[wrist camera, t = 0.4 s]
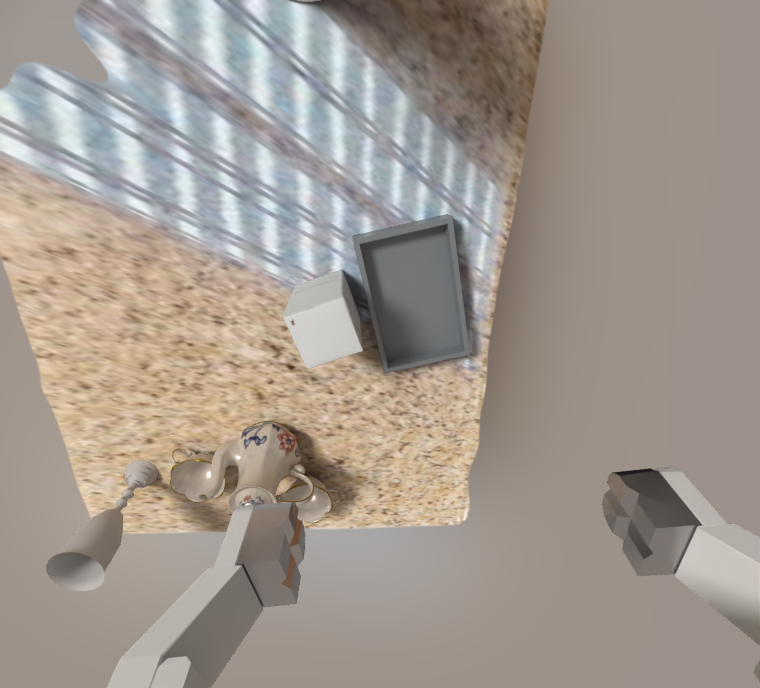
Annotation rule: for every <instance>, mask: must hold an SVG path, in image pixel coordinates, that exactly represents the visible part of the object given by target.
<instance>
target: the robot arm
mask: <svg viewBox="0 0 760 688" xmlns="http://www.w3.org/2000/svg"><path fill="white" fill-rule="evenodd" d="M297 1H304V2H313V1H320V0H297ZM607 483H608V485H609V486H610V488H611V489H610V490H609V491H608V492H606V493H605V494H604V498H603V504H602V505H603V512H604V516H605V518H606V521H607V523H608V525H609V527H610V529H611V531H612V532H613V533H614V534H615V535H617V536H618V537H620V538H621V539H622V540H624V542H623V551H624V553H625V555H626V557H627V558H628V560H629V562H630V563H631V565H632V567H633V568H634V570H635V572H636V573H637V575H638V576H649V575H668V574H675V577H676V578H678V579H679V580H680V581H681V582H683V583H684V584H685V585H686V586H687V587H689V588H690V589H691V590H692V591H694V592H695V593H696V594H697V595H698V596H700V597H701V598H702V599H703V600H705V601H706V602H707V603H708V604H709V605H711V606H712V607H713V608H715V609H716V610H717V611H718V612H719V613H721V614H722V615H723V616H724V617H725V618H727V619H728V620H729V621H730V622H731V623H733V624H734V625H735V626H736V627H738V628H739V629H740V630H741V631H743V632H744V633H745V634H746V635H747V636H749V637H750V638H751V639H752V640H753V641H755V642H756V643H757V644H759V645H760V537H758V536H756V535H755V534H753V533H751V532H749V531H747V530H746V529H744V528H742V527H740V526H738V525H736V524H735V523H729V524H728V523H727V522H726V521H725V520H724V519H723V518H722V517H721V516H720V514H719V513H718V512H717V511H716V510H715V509H714V508H713V506H712V505H711V504H710V503H709V502H708V501H707V500H706V499H705V497H704V496H703V495H702V494H701V493H700V492H699V491H698V489H697V488H696V487H695V486H694V485H693V484H692V483H691V482H690V480H689V479H688V478H687V477H686V476H685V475H684V474H683V472H682V471H681V470H679V469H678V468H676V467H665V468H655V469H640V470H631V471H621V472H613V473H611V474H610V475H609V477H608V481H607ZM297 516H298V508H297V505H296V503H295V502H291V503H275V504H259V505H246V506H237V508H236V509H235V511H234V512H233V514H232V517H231V520H230V523H229V525H228V528H227V531H226V534H225V537H224V540H223V543H222V545H221V548H220V551H219V554H218V557H217V560H216V563H215V566H214V567H212V568H208V569H207V570H206V571H205V572H204V573H203V574H202V575H201V576H200V577H199V578H198V579H197V580H196V581H195V582H194V583H193V584H192V585H191V586H190V587H189V588H188V589H187V590H186V591H185V593H183V595H182V596H181V597H180V598H179V599H178V600H177V601H176V602H175V603H174V604H173V605H172V606H171V607H170V608H169V609H168V610H167V611H166V612H165V613H164V614H163V615H162V616H161V617H160V618H159V619H158V620H157V621H156V622H155V623H154V625H153V626H152V627H151V628H150V629H149V630H148V631H147V632H146V633H145V634H144V635H143V636H142V637H141V638H140V639H139V640H138V641H137V642H136V643H135V644H134V645H133V646H132V647H131V648H130V650H128V651H127V653H126V654H125V655H124V656H123V657H122V658H121V659H120V661H119V663H118V665H117V667H116V669H115V671H114V673H113V675H112V678H111V680H110V682H109V684H108V686H107V688H211V687H212V685H213V684H214V682H215V681H216V679H217V678H218V676H219V675H220V673H221V672H222V670H223V669H224V667H225V666H226V664H227V663H228V661H229V660H230V658H231V657H232V655H233V654H234V652H235V651H236V650H237V648H238V647H239V645H240V643H241V642H242V641H243V639H244V638H245V636H246V635H247V633H248V632H249V630H250V628H251V627H252V625H253V624H254V623H255V621H256V620H257V618H258V617H259V615H260V614H261V612H262V611H263V608H262V607H270V606H279V605H289V604H296V603H297V597H298V591H299V585H300V578H301V575H300V573H299V570H298V567H297V566H298V565H299V564H300V563H301V561H302V560H303V559H304V551H305V531H304V526H303V523H302V521H301V520H299V519H298V518H297ZM754 674H755V675H756V677H757V678H758V680H759V681H760V661H759V662H758V664H757V665H756V666H755V670H754Z"/></svg>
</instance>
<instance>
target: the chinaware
mask: <svg viewBox="0 0 760 688" xmlns="http://www.w3.org/2000/svg"><path fill="white" fill-rule="evenodd" d="M175 451H181V452H183V453H185V454H186V455H187V456H189V457H188V458H187V459H186V460H185V461H183V462H180V463H179V460H178V461H177V462H175V460H174V458H173V453H174V452H175ZM170 459H171V461H172V462H173V463H174V464H175V465H174V466H173V467H172V470H171V480H170V486H171V489H172V490H173V491H174V492H176V493H179V494H184V493H185V494H184V496H186V498H187V499H188V500H190V501H193V502H195V503H197V502H203V501H205V500H207V499H210V498H218V497H220V496H222V495H223V492H224V490H225V485H226V484H225V483H226V474H225V470H226V467H227V466H230V465H231V466H236V467H237V469H238V471H239V480H238V484H237V488H236V490H235V491H234V492H233V493H232V494H231V495H230V497H229V499H228V508H229V509H230V510H231V512H232V514H233V512H234V511H235V509H236V508H237V506H246V505H259V504H275V503H276V502H277V503H291V502H295V503H296V505H297V508H298V516H297V518H298V519H299V520H301V521H303V519H304V521H306V522H308V523H317V522H318V521H320V520H321V519H322V518H323V517H324V515H325V513H328V512H330V511H331V509H332V508H333V504H336V503H338V502H339V500H340V493H339V492H338V491H337V490H335V489H329V490H326V488H325V486H326V485H323V484H322V482H320V481H319V480H318V479H316V478H314V477H313V476H311V474H310V475H309V476H305V475H303V474H304V473H305V469H304V467H303V466H302V465H300V464H298V463H299V462H300V460H301V455H300V452H299V449H298V445H297V439H296V437H295V436H294V435H293V433H292V432H291V431H290V429H289V428H287V427H286V426H284V425H283V424H280V423H278V422H273V421H263V422H259V423H256V424H254V425H252V426H251V427H247V428H245V429H244V431H243V433H242V435H241V437H240V438H237V439H234V440H231V441H228V442H225V443H223V444H222V445H221V446H220V447H219V448H218V449H217V450H216V452H215V453H209V452H205V451H203V453H198V454H196V453H195V452H192V453H191V455H189V454H188V453H187V452H186V451H184V450H183V449H175V450H174V451H173V452H172V453H171V455H170ZM288 474H290V475H291V476H294V477H298V478H300V479H298V480H296V481H295V482H294V483H293V484H292V485H291V486H290V487H289V489H288V490H287V491H286V492H283V493H282V494H281V495H277V496H276V497H275V494H276V490H277V487H278V485H279V483H280V481H281V480H283V479H284V478H286V477H287V476H288ZM328 491H334V492H336V493H337V494H338V495H339V498H338V500H337V501H335V502H332V501H333V500H332V499H331V498H330V496H329V494H328V493H327V492H328ZM279 498H280V499H279Z"/></svg>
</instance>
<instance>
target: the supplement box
mask: <svg viewBox="0 0 760 688" xmlns="http://www.w3.org/2000/svg"><path fill="white" fill-rule="evenodd" d="M283 319H284V321H285V323H286V325H287V327H288V329H289V331H290V333H291V335H292V337H293V339H294V341H295V344H296V346H297V348H298V350H299V352H300V354H301V356H302V359H303V361H304V363H305V365H306V367H307V369H310V368H313V367H316V366H319V365H322V364H325V363H328V362H331V361H334V360H337V359H340V358H343V357H346V356H349V355H352V354H355V353H358V352H361V351H363V346H362V337H361V327H360V315H359V312H358V310H357V307H356V305H355V302H354V299H353V296H352V294H351V291H350V288H349V286H348V283H347V281H346V278H345V275H344V273H343V270H339V271H336V272H333V273H330V274H327V275H324V276H321V277H318V278H315V279H313V280H310V281H307V282H304V283H301V284H298V285H295V287H294V290H293V292H292V295H291V297H290V300H289V302H288V305H287V307H286V310H285V312H284V315H283Z"/></svg>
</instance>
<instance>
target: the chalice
mask: <svg viewBox="0 0 760 688" xmlns="http://www.w3.org/2000/svg"><path fill="white" fill-rule="evenodd" d="M157 477H158V471H157V469H156V467H155V466H154V465H153V464H151V463H149V462H147V461H142V460H137V461H133V462H131V463H130V464H128V466H127V468H126V476H125V480H126V483H127V484H128V486H129V488H128V489H127V490H124V491H123V492H122V495H123V496H122V498H121V499H119V500H117V501H116V507H115V509H108V510H105V511H104V512H102V513H100V514H98V515H96V516H94V517H93V518H91V519H90V520H89V521H87V522H86V523H84V524H83V525H82V526H80V527H79V528H78V529H77V530H76V531H75V533H74V534H73V535H72V537H71V538H70V540H69V541H68V542H67V544H66V545H65V546H64V548H63V549H62V550H61V552H60V553H58V554H56V555H55V556H53V557H52V558H51V559H50V560H49V561H48V563H47V566H46V569H47V573H48V575H49V577H50V578H51V579H52V580H53V581H54V582H55V583H56V584H58V585H60V586H61V587H63V588H66V589H69V590H74V591H89V590H92V589H95V588H97V587H98V586H99V585H100V584H102V583H103V581H104V579H105V570H106V568H107V566H108V565H109V563H110V561H111V560H112V558H113V556H114V555H115V553H116V551H117V550H118V548H119V546H120V543H121V537H122V532H123V515H122V513H121V512H120V511H121V510H122V509H123V508H124V507H126V506H127V500H128V499H129V498H132V497H133V496H134V493H133V491H134V489H140V488H144V487H146V486H147V485H149V484H150V483H152V482H154V481H155V480H156V479H157Z"/></svg>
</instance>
